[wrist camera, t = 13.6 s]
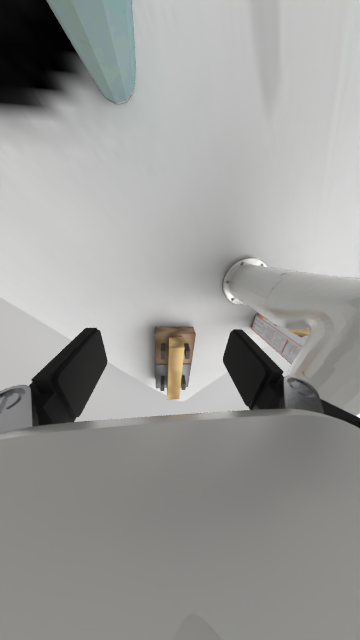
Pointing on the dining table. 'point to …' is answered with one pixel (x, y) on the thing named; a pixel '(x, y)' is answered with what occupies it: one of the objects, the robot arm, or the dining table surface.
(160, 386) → the door and jamb
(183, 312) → the dining table surface
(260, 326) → the cracker box
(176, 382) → the bar
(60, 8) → the disposable coffee cup
